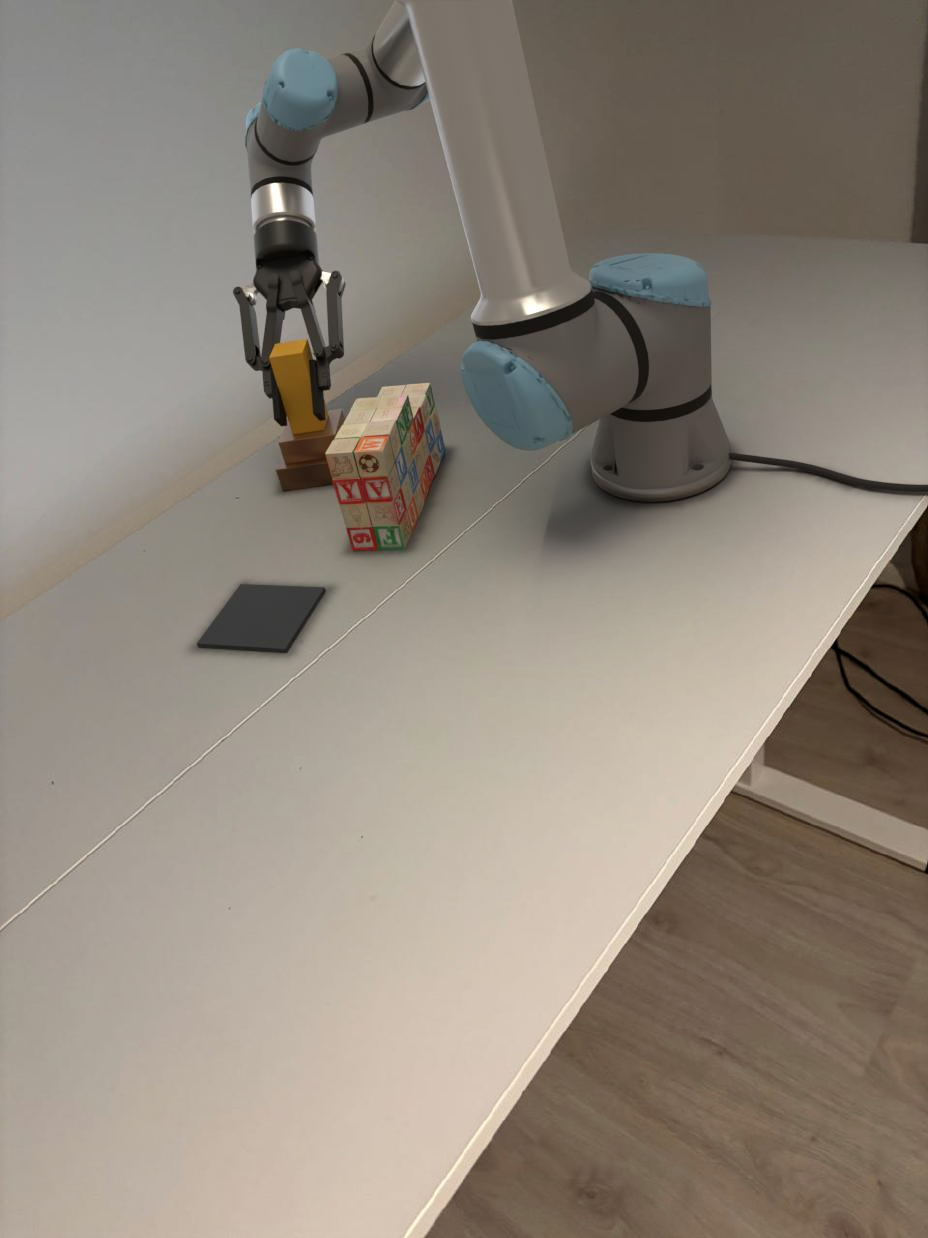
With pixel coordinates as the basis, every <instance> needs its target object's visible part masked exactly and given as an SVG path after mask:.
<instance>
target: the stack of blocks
mask: <svg viewBox="0 0 928 1238" xmlns="http://www.w3.org/2000/svg"><path fill="white" fill-rule="evenodd" d="M442 432H443V431H442V429H441V422H440V417H439V413H438V407H437V406H436V402H435V398H434V393H433V389H432V384H431V382H422V383H407V384H401V385H400V384H399V385H388V386H381V388H380V389H379V392H378V394H377V395H376V397H375V396H374V397H360V398H356V399H355V400H354V403H353V405H352V406H351V408H350V409H349V412H348V414H347V415H346V418H345V421H344V424H343V425H342V426H341V428H340V430H339V431H338V433H337V435H336V437H335V439H334V440H333V441H332V443H331V444H330V446H329V448H328V449H327V451H326V453H325V455H326V459H327V462H328V465H329V469H330V472H331V476H332V478H333V480H332V481H333V484H332V485H333V489H334V491H335V495H336V499H337V502H338V504H339V508H340V511H341V514H342V519H343V520H344V524H345V530H346V534H347V536H348V540H349V543H350V548H351V551H354V552H355V551H378V550H405V549H406V548H407V546H408V543H409V541H410V538H411V536H412V534H413V532H414V530H415V528H416V525H417V523H418V520H419V518H420V516H421V513H422V512H423V508H424V507H425V502H426V498H427V496H428V494H429V491H430V488H431V485H432V484H433V480H434V478H435V476H436V475H437V472H438V469H439V468H440V465H441V462H442V461H443V457H444V455H445V452H446V446H445V442H444V437H443V433H442Z"/></svg>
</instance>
